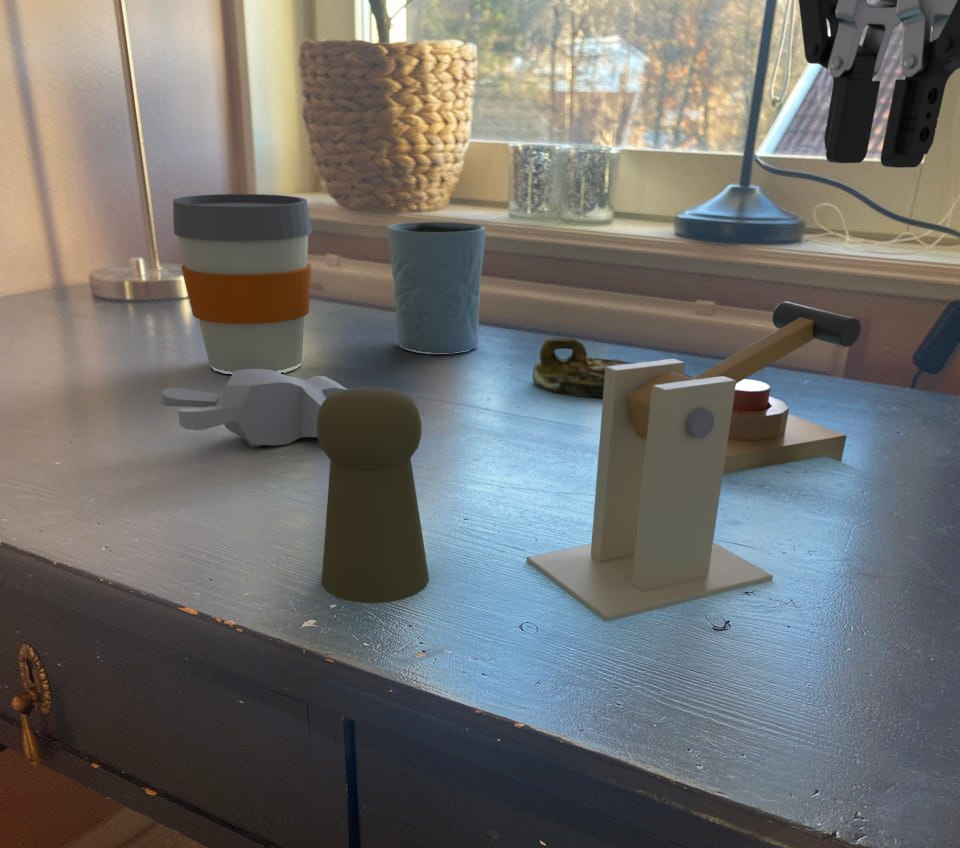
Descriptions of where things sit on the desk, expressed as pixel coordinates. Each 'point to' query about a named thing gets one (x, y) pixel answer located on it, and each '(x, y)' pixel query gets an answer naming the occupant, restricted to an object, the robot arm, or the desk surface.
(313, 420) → the bunny figurine
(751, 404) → the button
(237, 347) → the reusable coffee cup
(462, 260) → the blue embossed cup
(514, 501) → the desk surface
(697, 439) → the bracket
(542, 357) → the seal
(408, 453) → the cork
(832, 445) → the button block
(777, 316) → the lever
